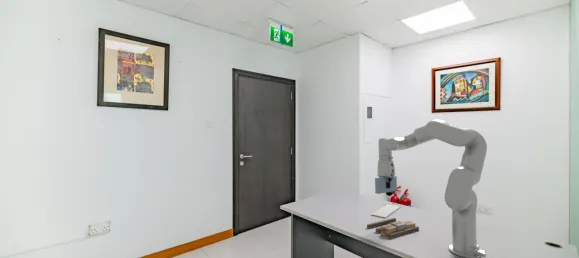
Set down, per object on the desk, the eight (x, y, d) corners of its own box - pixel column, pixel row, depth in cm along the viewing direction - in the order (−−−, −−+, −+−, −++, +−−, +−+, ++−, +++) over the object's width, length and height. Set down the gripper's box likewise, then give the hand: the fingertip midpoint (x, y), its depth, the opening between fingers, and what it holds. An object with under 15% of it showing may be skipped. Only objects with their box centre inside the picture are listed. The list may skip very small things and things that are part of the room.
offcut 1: (396, 234, 138) (396, 226, 139) (388, 237, 135) (388, 229, 135) (389, 231, 143) (388, 224, 143) (381, 234, 139) (381, 226, 139)
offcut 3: (415, 230, 145) (415, 223, 145) (406, 231, 143) (406, 224, 143) (408, 227, 150) (408, 220, 150) (399, 228, 147) (399, 222, 147)
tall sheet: (396, 190, 153) (396, 176, 153) (378, 193, 145) (378, 178, 146) (393, 189, 155) (393, 175, 155) (375, 193, 148) (374, 178, 148)
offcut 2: (406, 232, 142) (406, 223, 142) (397, 234, 139) (397, 225, 139) (399, 229, 146) (399, 220, 146) (390, 231, 143) (390, 222, 143)
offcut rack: (418, 230, 144) (418, 226, 144) (390, 238, 133) (390, 235, 133) (394, 220, 159) (394, 217, 159) (367, 227, 149) (367, 224, 149)
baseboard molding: (368, 215, 172) (385, 219, 164) (368, 211, 172) (385, 215, 164) (384, 205, 195) (400, 208, 187) (384, 201, 195) (400, 204, 187)
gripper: (400, 158, 145) (401, 189, 145) (379, 156, 160) (380, 184, 159) (391, 159, 142) (392, 191, 141) (371, 157, 156) (371, 186, 156)
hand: (386, 187), depth 150 cm, fingers closed on tall sheet, 2 cm apart
